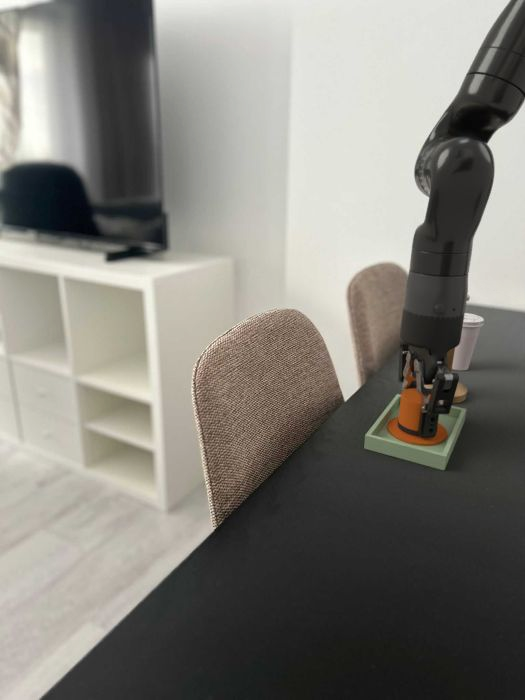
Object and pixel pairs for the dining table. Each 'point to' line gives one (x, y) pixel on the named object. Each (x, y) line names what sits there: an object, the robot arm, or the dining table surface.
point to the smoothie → (467, 341)
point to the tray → (424, 455)
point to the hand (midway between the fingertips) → (417, 425)
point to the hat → (413, 421)
